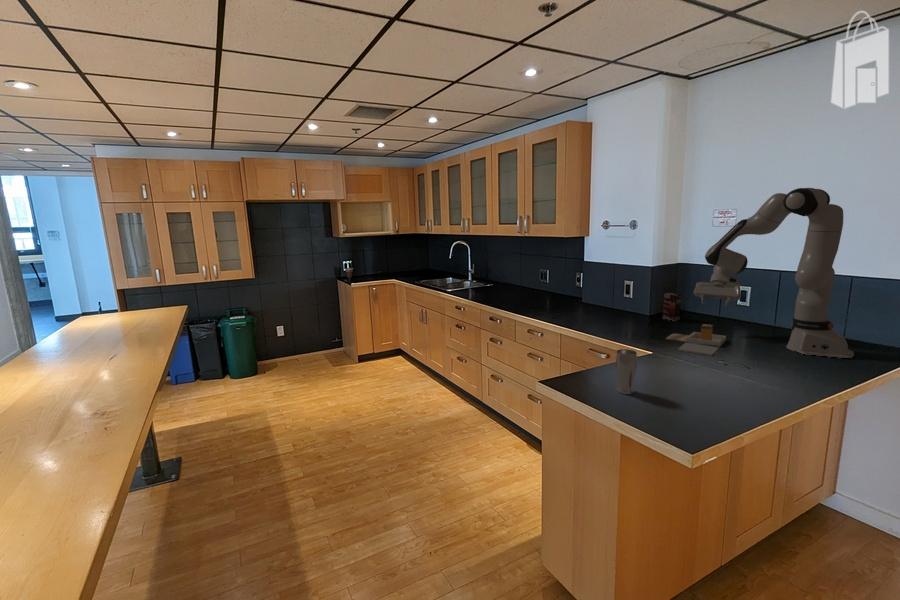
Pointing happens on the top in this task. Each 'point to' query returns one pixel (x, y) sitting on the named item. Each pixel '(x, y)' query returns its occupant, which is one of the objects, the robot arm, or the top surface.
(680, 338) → the pad
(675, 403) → the top surface
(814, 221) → the robot arm
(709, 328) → the block
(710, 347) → the case
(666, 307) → the supplement box
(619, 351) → the beer glass
